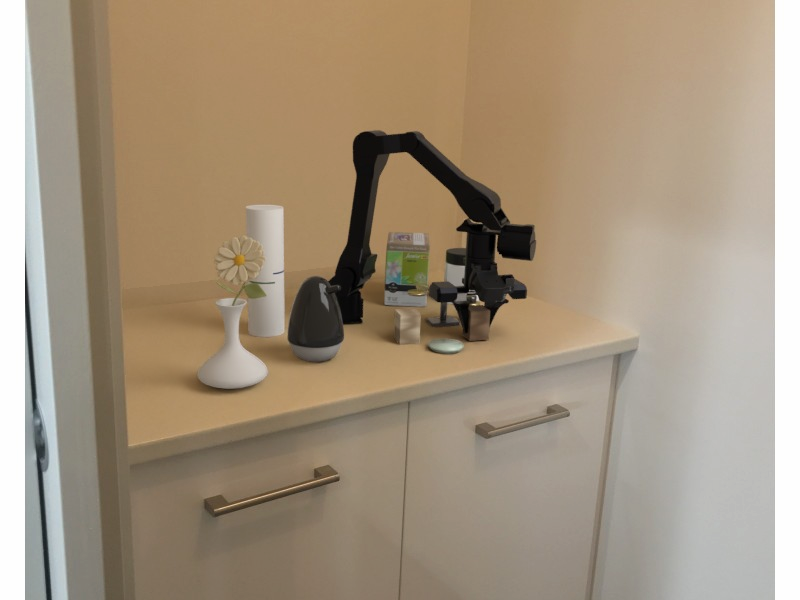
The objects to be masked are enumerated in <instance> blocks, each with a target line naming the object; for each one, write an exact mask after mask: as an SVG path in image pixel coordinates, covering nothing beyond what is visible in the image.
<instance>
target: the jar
mask: <svg viewBox="0 0 800 600" xmlns="http://www.w3.org/2000/svg"><path fill="white" fill-rule="evenodd" d="M465 256H466V247H454V248H453V247H452V248H448V249H446V251H445V260H444V278H443V279H444V280H443V282H448V281H449V282H450V283H451V284H453V285H454V286H464V284H463V283H462V278H464V274H465V264H464V263H463V258H465ZM469 291H470V290H469ZM472 291H475V290H472ZM476 296H477V299H476V301H479V302H480V300H479V298H478V295H476ZM447 305H453V306H454V304H453V303H451V302H447Z"/></svg>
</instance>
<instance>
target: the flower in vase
mask: <svg viewBox="0 0 800 600" xmlns="http://www.w3.org/2000/svg"><path fill="white" fill-rule="evenodd" d="M262 248H263V246H262V245H261V244H259V242H257V241H255V240H252V238H248V237H246V235H243V234H242V235H241V236H238V237H236V236H233V237H232V238H231V239H229V240H225V241H224V242H223V243H222V245H221V247H218V248H217V254H216V255H214V260H213V263H214V265H216V266H215V270H216V271H218V272H216V275H217V277H219V278H220V279H222V280H224V282H229V283H230V284H231V285H233V286H237V285H242V286H241V288H240V290H239V291H238V293H236V292H235V291H234V290H233V289H232V288H231V287H228V286H227V285H224V284H223V283H220V282H219V281H217V279H216V278H215V282H216V284H217V285H218V286H220V287H221V288H223V289H225V290H227V291H229V292H230V293H232V294H234V295H236V296H235V297H226V298H220V299H217V300H216V301H215V302H214V304H215V306H217V308H218V310H219V311H220V314H221V316H222V320H223V326H224V327H223V328H224V342H223V345H222V346H221V348H220V349H219V350H217V352H216V353H214V354H212V355H211V356H210V357H209V358H207V359H206V360H205V361H204V362H203V364H201V366H199V369H198V371H197V378H198V380H199V381H200V382H201V383H202V384H204V385H207V386H210V387H213V388H219V389H225V390H229V389H242V388H247V387H251V386H253V385H256V384H258V383H260V382H262V381H264V379H266V378H267V375H268V373H269V370H268V368H267V366H266V365H267V364H265V363H264V362H263V361H262V360H261V359H260V358H259V357H257V356H256V355H254V354H253V353H252V352H251V351H248V350H247V349H246V348H244V346H243V345H242V343H241V341H240V333H239V332H240V318H241V314H242V312H243V309H244V308H245V306H246V305H247V304H248V300H246V299H244V298H239V296H241V293H242V292H243V291H244V293H245V295H246V296H247V298H248V297H249V298H251V299H255V298H261V297H265V296H267V295H266V294H265V292H264V291H263V289H262V288H261V287H260V286H259V285H258V284H257V283H251V284H248V285H247V281H251V280H252V279H255V278H256V276H258V271H260V270H262V266H263V265H264V262H265V261H266V258H265V257H263V255H264V251H263V250H262Z"/></svg>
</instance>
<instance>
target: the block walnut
mask: <svg viewBox="0 0 800 600" xmlns="http://www.w3.org/2000/svg"><path fill="white" fill-rule="evenodd" d="M489 324H490V310H489V309H487V308H486V307H485V306H484V305H483V304H482V305H481V304H480V305H475V306H469V308H468V331H467V333H464V331H463V330H462V334H461V335H462V336H463V337H465V338H466V339H467V340H468V341H469V342H472V341H474V342H475V341H488V340H489V337H490V336H489V334H490V328H489Z"/></svg>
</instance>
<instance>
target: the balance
mask: <svg viewBox="0 0 800 600" xmlns="http://www.w3.org/2000/svg"><path fill="white" fill-rule="evenodd" d="M429 287H430V285H427V286H424V285H418V284H417V285H416V288H417V289H412V290H408V295H410V296H426V295H427V296H428V292H429ZM425 290H427V291H425ZM476 299H477V296H476V295H467V301H468V302H469V303H470V305H469V306H475V305H481V301H480V300H479V301H476ZM447 314H448V304H447V302H445V303H440V312H439V316H438V317H427V318H426V322H427V324H429V325H430V326H431V327H432V328H436V327H437V328H438V327H450V326H451V327H454V326H455V327H456V326H461V322H460V320H458V319H456V318H455V317H454V316H448V315H447Z"/></svg>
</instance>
